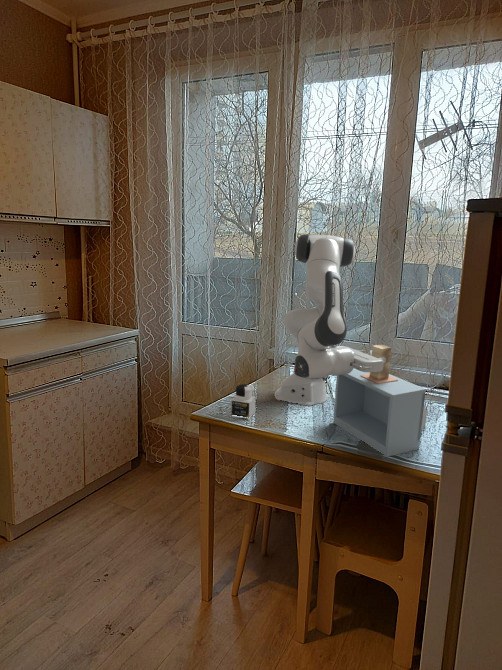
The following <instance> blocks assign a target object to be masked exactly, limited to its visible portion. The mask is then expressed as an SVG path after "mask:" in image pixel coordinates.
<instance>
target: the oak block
mask: <svg viewBox="0 0 502 670" xmlns="http://www.w3.org/2000/svg"><path fill="white" fill-rule="evenodd" d="M371 350H372V353H371V356H374V357H376V358H379V357H384V358H386V362H385V363H383V370H382V371H379V372H370V377H372V378H374V379H377V380H383V379H388V378H389V374H390V367H391V365H390V364H391V357H392V347H390V346H388V345H385V344H374V345H371Z"/></svg>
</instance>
